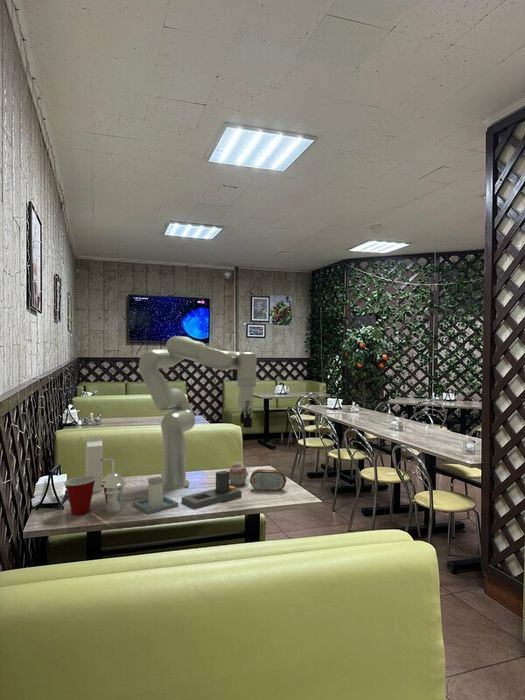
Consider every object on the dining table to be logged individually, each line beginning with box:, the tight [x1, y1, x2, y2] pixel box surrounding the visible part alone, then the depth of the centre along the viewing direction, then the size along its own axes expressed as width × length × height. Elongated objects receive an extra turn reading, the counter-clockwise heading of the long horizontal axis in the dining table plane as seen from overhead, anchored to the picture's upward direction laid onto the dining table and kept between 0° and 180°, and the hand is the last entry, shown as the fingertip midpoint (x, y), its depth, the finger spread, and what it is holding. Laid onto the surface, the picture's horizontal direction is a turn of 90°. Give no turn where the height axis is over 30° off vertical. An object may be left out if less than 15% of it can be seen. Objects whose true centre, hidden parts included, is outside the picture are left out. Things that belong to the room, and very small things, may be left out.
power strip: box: [181, 485, 242, 510], centre depth 175 cm, size 9×22×3 cm, turn 132°
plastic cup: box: [63, 475, 96, 516], centre depth 161 cm, size 11×11×12 cm
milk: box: [85, 436, 104, 493], centre depth 187 cm, size 6×6×22 cm
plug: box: [147, 476, 164, 508], centre depth 167 cm, size 3×4×10 cm
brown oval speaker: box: [249, 468, 287, 492], centre depth 188 cm, size 15×3×8 cm, turn 84°
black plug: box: [215, 470, 230, 494], centre depth 178 cm, size 3×4×10 cm
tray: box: [132, 495, 179, 515], centre depth 167 cm, size 12×12×2 cm
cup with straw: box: [101, 458, 127, 513], centre depth 162 cm, size 8×9×20 cm
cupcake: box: [228, 460, 250, 487], centre depth 196 cm, size 9×9×10 cm
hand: (245, 425), depth 182 cm, fingers open, 9 cm apart
